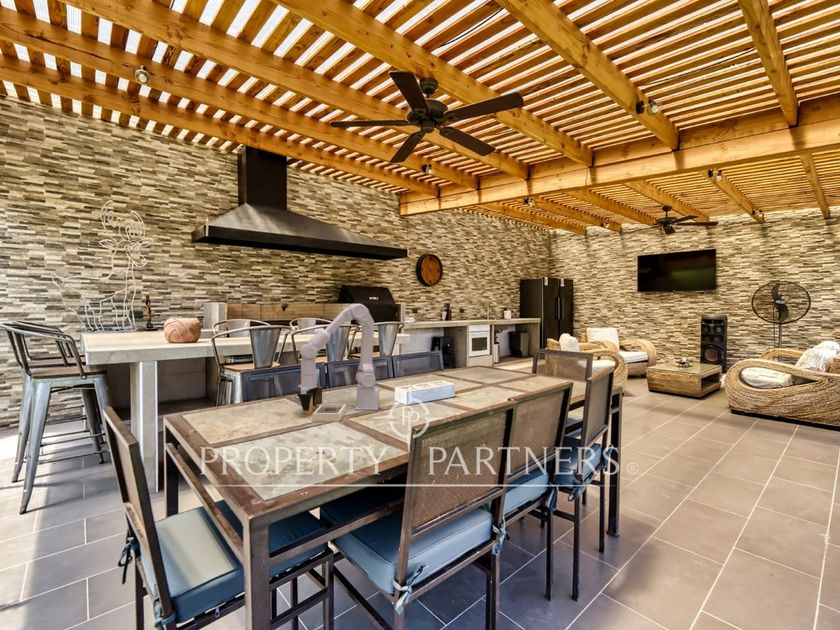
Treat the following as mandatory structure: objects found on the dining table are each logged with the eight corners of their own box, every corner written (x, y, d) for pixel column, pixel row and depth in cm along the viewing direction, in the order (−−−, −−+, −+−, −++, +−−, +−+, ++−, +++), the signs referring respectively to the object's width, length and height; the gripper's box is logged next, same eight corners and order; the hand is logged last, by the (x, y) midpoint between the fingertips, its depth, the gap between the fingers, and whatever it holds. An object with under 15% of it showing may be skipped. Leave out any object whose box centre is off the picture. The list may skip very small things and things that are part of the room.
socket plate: (342, 412, 162) (342, 407, 162) (338, 418, 154) (338, 412, 154) (322, 412, 162) (322, 407, 162) (317, 417, 154) (317, 412, 154)
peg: (313, 412, 163) (313, 395, 163) (311, 414, 160) (311, 397, 160) (306, 412, 163) (305, 395, 163) (303, 414, 160) (303, 396, 160)
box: (322, 403, 178) (322, 386, 177) (312, 406, 173) (312, 389, 172) (312, 401, 181) (312, 385, 181) (302, 404, 176) (302, 387, 176)
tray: (346, 411, 165) (346, 404, 165) (339, 421, 151) (339, 413, 151) (321, 411, 165) (321, 404, 165) (312, 421, 151) (312, 413, 151)
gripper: (303, 371, 168) (303, 403, 169) (292, 377, 154) (292, 413, 154) (320, 371, 168) (320, 403, 169) (311, 377, 154) (311, 413, 154)
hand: (308, 408), depth 162 cm, fingers open, 7 cm apart
